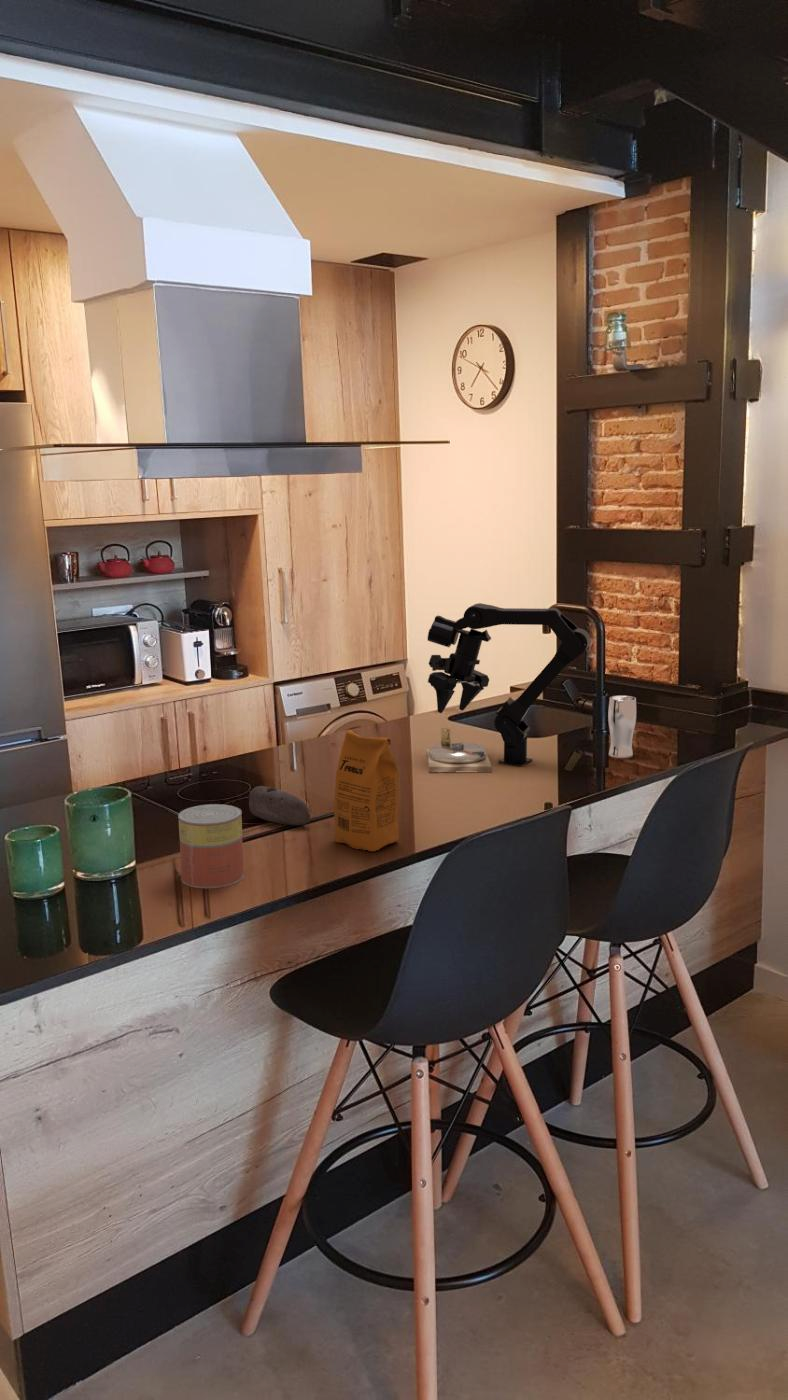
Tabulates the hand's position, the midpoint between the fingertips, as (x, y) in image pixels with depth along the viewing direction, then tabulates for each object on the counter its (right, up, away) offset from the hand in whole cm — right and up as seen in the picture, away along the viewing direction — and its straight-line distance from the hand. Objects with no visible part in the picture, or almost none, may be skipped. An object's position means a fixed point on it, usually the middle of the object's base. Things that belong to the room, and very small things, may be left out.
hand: (450, 711), depth 273 cm
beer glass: (+44, -12, +3) cm, 45 cm away
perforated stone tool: (-38, -23, -47) cm, 65 cm away
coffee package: (-20, -25, -60) cm, 68 cm away
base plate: (+2, -13, -2) cm, 13 cm away
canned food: (-47, -29, -77) cm, 95 cm away
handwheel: (+2, -11, -3) cm, 12 cm away
